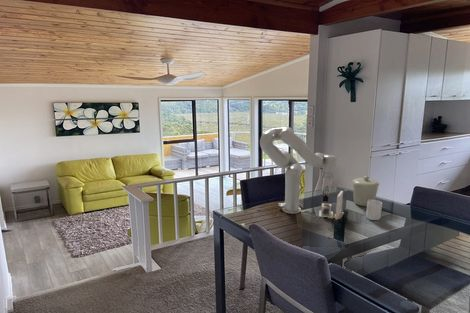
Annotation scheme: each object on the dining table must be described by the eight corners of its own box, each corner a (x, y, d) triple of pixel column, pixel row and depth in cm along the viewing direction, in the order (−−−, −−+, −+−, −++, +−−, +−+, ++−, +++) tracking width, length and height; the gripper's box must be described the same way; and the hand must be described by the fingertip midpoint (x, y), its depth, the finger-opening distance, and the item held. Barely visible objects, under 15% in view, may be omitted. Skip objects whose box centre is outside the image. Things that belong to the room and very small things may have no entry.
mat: (318, 216, 220) (318, 215, 220) (319, 211, 228) (319, 210, 228) (333, 218, 218) (333, 217, 218) (332, 212, 226) (332, 211, 226)
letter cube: (321, 215, 221) (321, 206, 219) (321, 211, 226) (322, 203, 225) (330, 216, 219) (331, 207, 218) (330, 212, 225) (331, 204, 223)
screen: (332, 218, 218) (334, 195, 213) (337, 212, 227) (338, 190, 223) (339, 220, 215) (341, 196, 211) (343, 213, 225) (345, 191, 220)
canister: (345, 203, 241) (347, 175, 236) (358, 197, 253) (360, 170, 247) (369, 211, 228) (372, 182, 223) (381, 204, 240) (385, 176, 234)
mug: (380, 222, 212) (382, 206, 209) (365, 219, 216) (366, 203, 213) (380, 214, 223) (382, 199, 220) (366, 212, 226) (368, 197, 224)
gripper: (322, 169, 225) (319, 193, 229) (322, 177, 209) (319, 202, 213) (334, 170, 223) (331, 194, 228) (334, 179, 207) (331, 204, 211)
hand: (325, 198), depth 220 cm, fingers open, 9 cm apart
